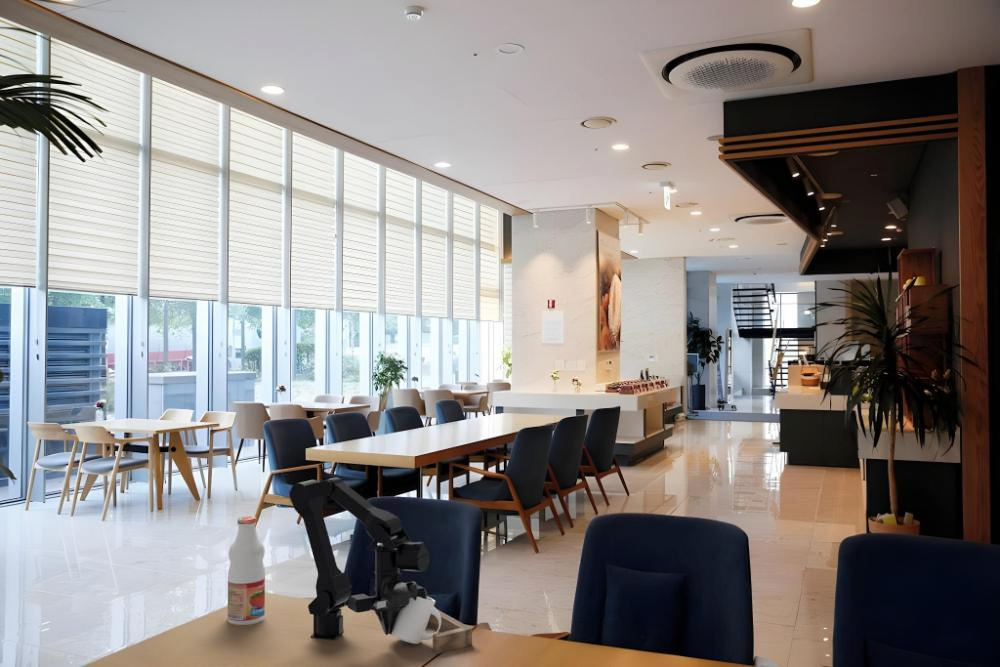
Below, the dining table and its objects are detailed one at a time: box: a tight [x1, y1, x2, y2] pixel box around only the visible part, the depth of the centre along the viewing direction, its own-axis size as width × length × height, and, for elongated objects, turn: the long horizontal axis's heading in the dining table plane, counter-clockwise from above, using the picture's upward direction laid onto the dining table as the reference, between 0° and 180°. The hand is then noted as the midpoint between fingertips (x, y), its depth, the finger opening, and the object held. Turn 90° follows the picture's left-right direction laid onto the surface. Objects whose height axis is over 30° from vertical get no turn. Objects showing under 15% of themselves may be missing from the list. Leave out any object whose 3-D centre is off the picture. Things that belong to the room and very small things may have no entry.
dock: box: [426, 609, 473, 654], centre depth 197 cm, size 10×20×4 cm, turn 34°
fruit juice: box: [226, 516, 266, 626], centre depth 206 cm, size 9×9×28 cm
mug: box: [390, 596, 441, 645], centre depth 193 cm, size 9×12×11 cm
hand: (388, 634), depth 189 cm, fingers closed, pressing on mug
